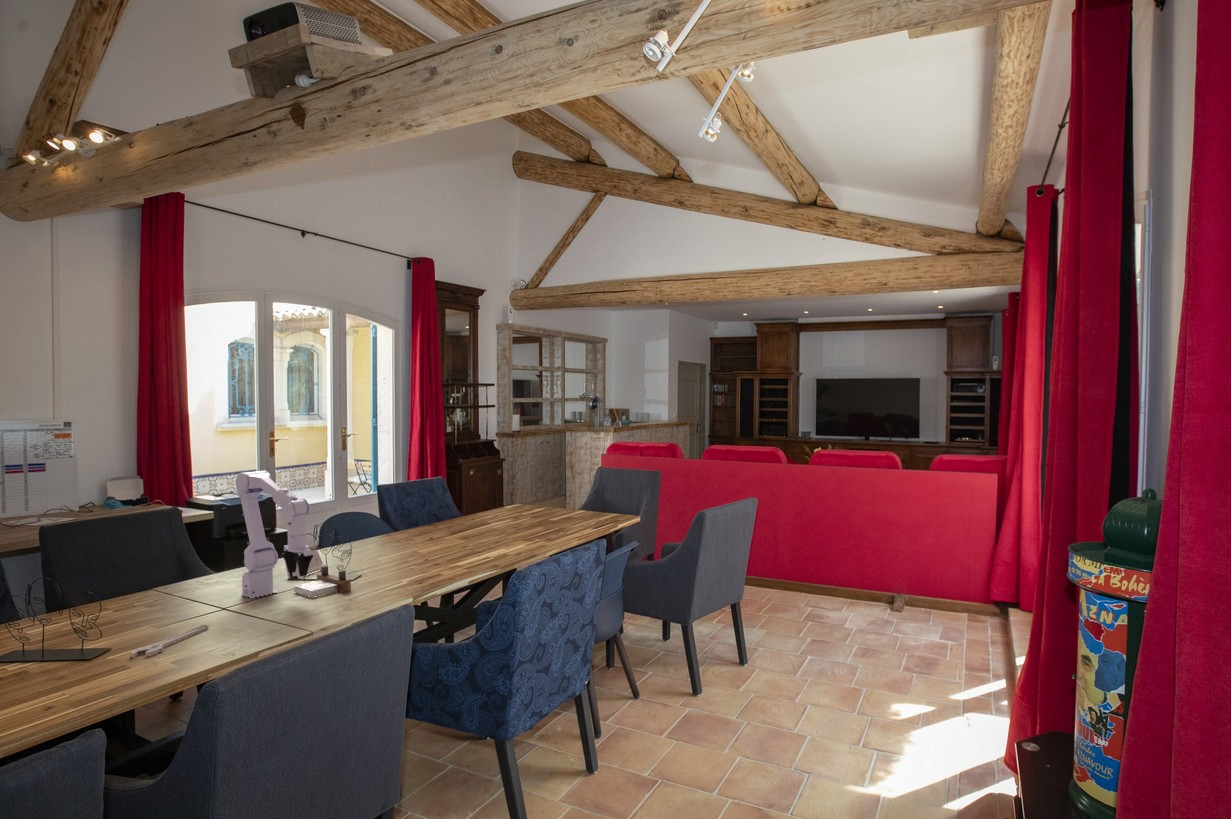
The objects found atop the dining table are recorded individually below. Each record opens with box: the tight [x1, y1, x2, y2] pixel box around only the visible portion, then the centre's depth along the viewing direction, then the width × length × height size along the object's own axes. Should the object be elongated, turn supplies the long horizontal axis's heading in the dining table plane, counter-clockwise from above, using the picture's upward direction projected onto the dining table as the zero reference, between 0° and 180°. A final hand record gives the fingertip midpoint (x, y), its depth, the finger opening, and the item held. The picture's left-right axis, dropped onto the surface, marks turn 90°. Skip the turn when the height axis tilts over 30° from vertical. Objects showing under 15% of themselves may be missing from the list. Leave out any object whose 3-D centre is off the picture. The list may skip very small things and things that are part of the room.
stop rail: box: [316, 565, 352, 593], centre depth 259 cm, size 3×18×7 cm, turn 52°
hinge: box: [284, 549, 327, 579], centre depth 282 cm, size 17×5×10 cm, turn 163°
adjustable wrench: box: [130, 624, 209, 659], centre depth 203 cm, size 25×6×2 cm, turn 164°
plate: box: [293, 580, 339, 597], centre depth 254 cm, size 10×12×3 cm
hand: (297, 574), depth 242 cm, fingers open, 7 cm apart
